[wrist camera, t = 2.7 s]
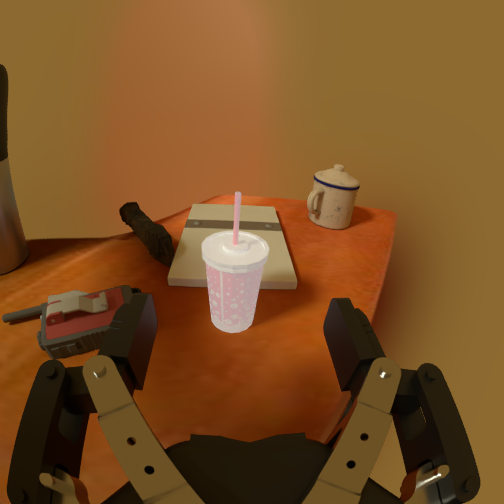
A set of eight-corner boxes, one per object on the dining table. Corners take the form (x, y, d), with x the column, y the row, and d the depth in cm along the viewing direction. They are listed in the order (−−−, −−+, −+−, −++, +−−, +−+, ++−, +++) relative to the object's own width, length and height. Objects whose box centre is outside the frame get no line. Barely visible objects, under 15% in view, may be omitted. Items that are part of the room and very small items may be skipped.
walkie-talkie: (138, 288, 32) (8, 321, 23) (132, 258, 30) (-6, 294, 21) (156, 336, 26) (1, 374, 17) (149, 306, 24) (-19, 347, 14)
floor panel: (168, 285, 33) (167, 276, 32) (193, 209, 53) (193, 202, 52) (295, 289, 34) (297, 280, 33) (273, 212, 54) (274, 205, 54)
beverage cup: (268, 309, 31) (285, 190, 23) (246, 346, 26) (258, 213, 18) (220, 292, 33) (223, 178, 25) (193, 324, 28) (185, 197, 20)
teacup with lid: (325, 208, 59) (334, 158, 53) (358, 225, 53) (371, 171, 47) (287, 218, 52) (295, 160, 46) (323, 238, 46) (335, 174, 40)
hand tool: (120, 223, 47) (117, 200, 44) (140, 218, 49) (137, 195, 46) (154, 277, 34) (149, 246, 32) (180, 267, 37) (178, 238, 34)
